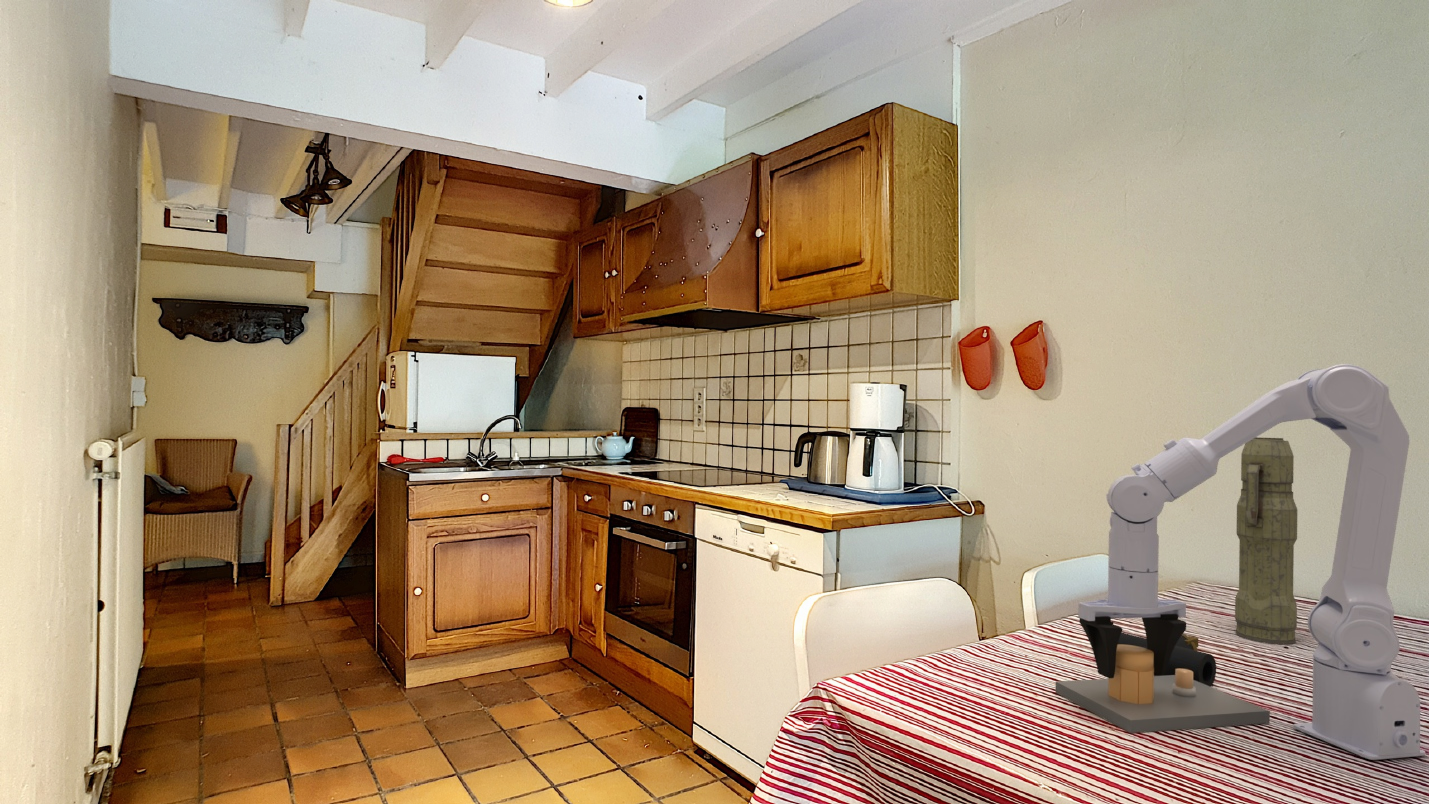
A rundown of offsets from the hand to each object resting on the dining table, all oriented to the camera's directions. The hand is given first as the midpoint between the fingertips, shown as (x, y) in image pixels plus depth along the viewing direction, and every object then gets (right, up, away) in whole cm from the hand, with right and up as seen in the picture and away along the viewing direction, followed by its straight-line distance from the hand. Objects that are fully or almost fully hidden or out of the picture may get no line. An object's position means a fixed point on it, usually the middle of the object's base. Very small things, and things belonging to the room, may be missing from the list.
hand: (1131, 674), depth 103 cm
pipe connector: (+14, -6, +17) cm, 23 cm away
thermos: (+43, -6, +37) cm, 57 cm away
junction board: (+4, -5, +1) cm, 6 cm away
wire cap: (0, -3, 0) cm, 3 cm away
